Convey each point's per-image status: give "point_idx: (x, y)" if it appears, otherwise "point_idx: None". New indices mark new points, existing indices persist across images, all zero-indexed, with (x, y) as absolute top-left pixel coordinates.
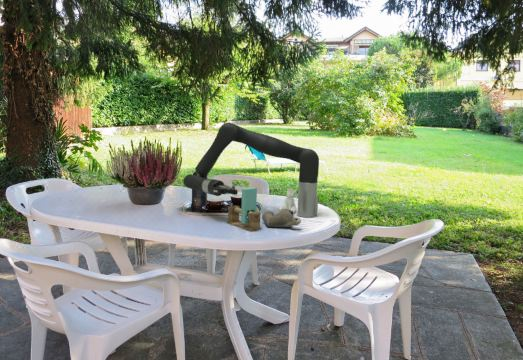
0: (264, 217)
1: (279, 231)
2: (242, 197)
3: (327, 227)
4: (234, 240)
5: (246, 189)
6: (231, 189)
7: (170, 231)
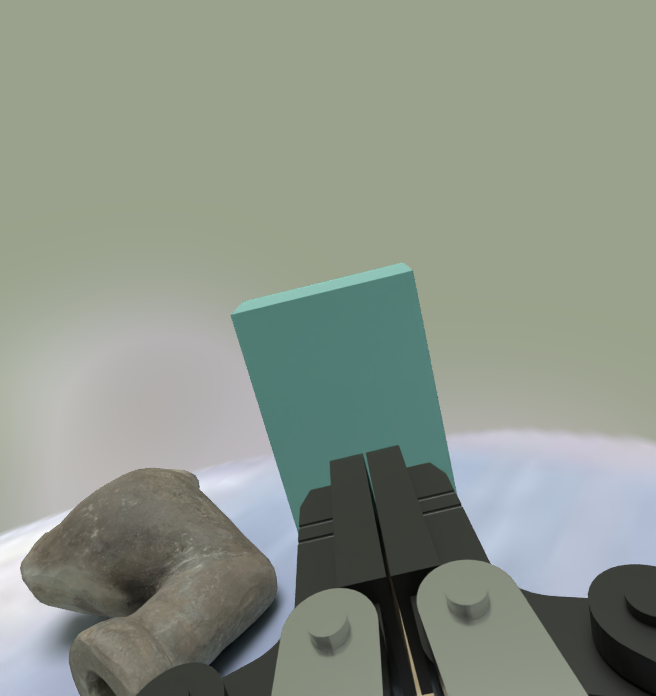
0: (185, 656)
1: (285, 523)
2: (430, 369)
3: (58, 517)
4: (630, 462)
5: (386, 267)
6: (423, 517)
7: None
